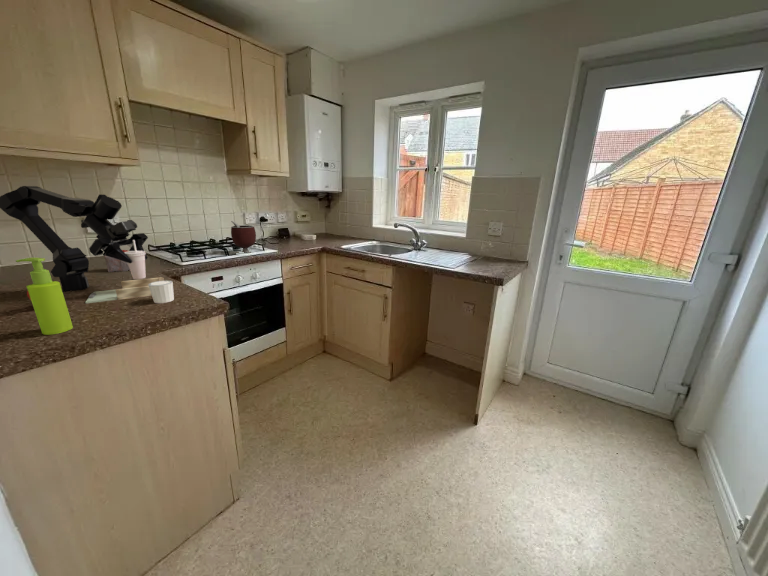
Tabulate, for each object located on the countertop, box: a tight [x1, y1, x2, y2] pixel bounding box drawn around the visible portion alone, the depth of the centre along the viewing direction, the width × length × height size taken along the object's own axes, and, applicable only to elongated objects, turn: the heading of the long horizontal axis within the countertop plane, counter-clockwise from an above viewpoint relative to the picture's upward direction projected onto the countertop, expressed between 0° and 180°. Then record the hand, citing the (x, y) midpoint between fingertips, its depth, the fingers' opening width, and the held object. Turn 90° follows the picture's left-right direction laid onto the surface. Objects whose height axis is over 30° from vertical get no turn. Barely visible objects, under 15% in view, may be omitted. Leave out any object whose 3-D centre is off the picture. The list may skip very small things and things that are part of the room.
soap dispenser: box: [15, 257, 74, 336], centre depth 81 cm, size 6×7×20 cm
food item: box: [103, 249, 130, 273], centre depth 148 cm, size 14×8×10 cm, turn 120°
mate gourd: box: [230, 220, 257, 253], centre depth 191 cm, size 16×14×20 cm
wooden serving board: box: [116, 276, 165, 300], centre depth 115 cm, size 13×13×4 cm
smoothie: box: [124, 240, 147, 280], centre depth 112 cm, size 6×6×14 cm
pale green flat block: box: [85, 288, 118, 304], centre depth 109 cm, size 8×13×2 cm, turn 32°
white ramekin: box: [148, 279, 175, 304], centre depth 106 cm, size 7×7×7 cm
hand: (139, 260), depth 111 cm, fingers closed on smoothie, 6 cm apart
